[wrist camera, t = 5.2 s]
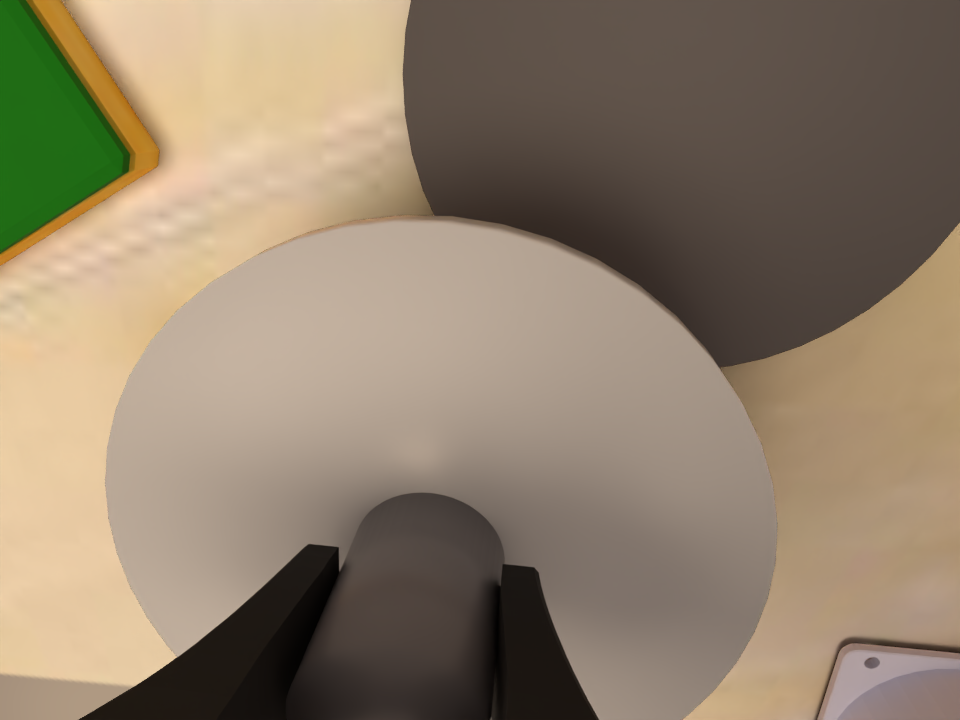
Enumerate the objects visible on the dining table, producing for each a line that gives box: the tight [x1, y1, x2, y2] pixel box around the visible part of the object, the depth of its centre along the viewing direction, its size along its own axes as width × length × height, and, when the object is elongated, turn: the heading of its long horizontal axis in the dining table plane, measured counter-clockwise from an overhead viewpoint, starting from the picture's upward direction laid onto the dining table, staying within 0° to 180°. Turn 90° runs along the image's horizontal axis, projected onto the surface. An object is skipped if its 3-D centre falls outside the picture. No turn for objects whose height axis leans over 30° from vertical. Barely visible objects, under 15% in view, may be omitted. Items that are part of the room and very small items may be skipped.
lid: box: [105, 215, 777, 720], centre depth 13 cm, size 14×14×5 cm
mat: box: [403, 0, 960, 367], centre depth 18 cm, size 16×16×1 cm
